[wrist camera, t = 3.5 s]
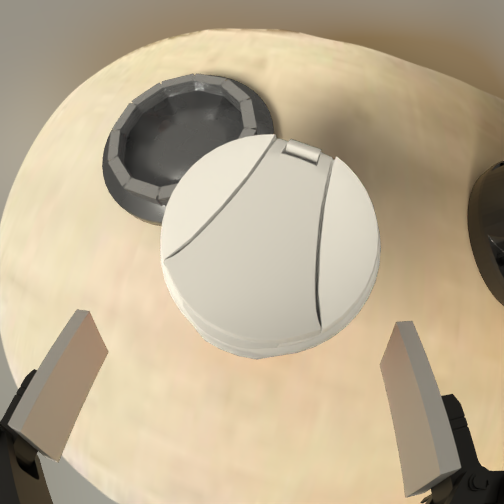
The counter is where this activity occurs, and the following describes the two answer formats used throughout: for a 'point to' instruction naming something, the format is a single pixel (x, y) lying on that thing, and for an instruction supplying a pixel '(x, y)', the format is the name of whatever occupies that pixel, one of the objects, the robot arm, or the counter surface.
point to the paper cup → (269, 246)
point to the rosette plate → (175, 137)
